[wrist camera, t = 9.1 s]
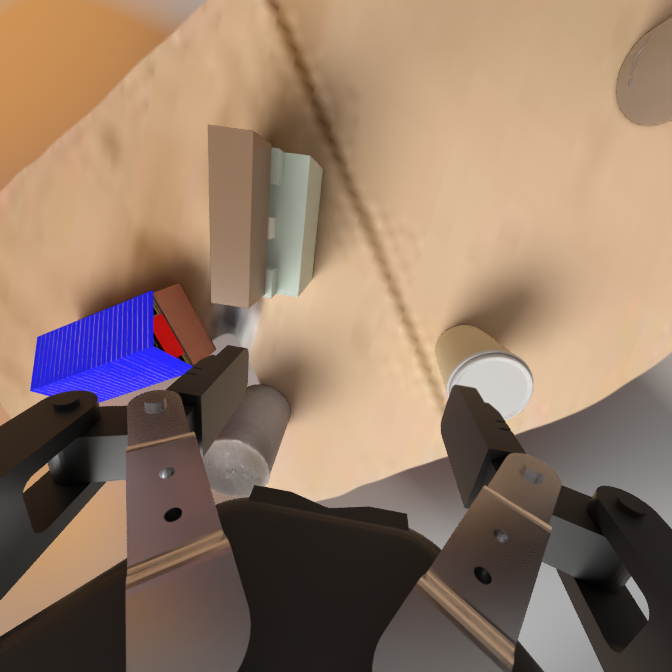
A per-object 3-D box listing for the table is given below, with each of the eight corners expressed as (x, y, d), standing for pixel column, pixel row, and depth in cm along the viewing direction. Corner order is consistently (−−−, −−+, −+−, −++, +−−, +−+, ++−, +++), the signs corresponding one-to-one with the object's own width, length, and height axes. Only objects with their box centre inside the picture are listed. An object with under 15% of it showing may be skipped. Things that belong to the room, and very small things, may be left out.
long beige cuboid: (271, 144, 28) (253, 130, 24) (264, 295, 34) (248, 308, 29) (233, 138, 29) (207, 124, 24) (232, 290, 34) (211, 302, 29)
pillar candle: (234, 427, 55) (191, 500, 42) (234, 379, 52) (188, 441, 38) (289, 435, 55) (265, 511, 41) (293, 388, 52) (268, 453, 38)
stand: (323, 168, 40) (306, 151, 28) (312, 279, 45) (294, 301, 34) (244, 158, 40) (197, 137, 29) (242, 269, 45) (202, 288, 34)
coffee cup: (439, 385, 49) (461, 435, 38) (420, 332, 46) (438, 370, 35) (501, 365, 47) (544, 413, 36) (486, 309, 44) (526, 341, 33)
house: (77, 321, 51) (-1, 351, 40) (181, 279, 47) (125, 300, 36) (119, 384, 55) (58, 426, 44) (219, 350, 50) (179, 388, 40)
